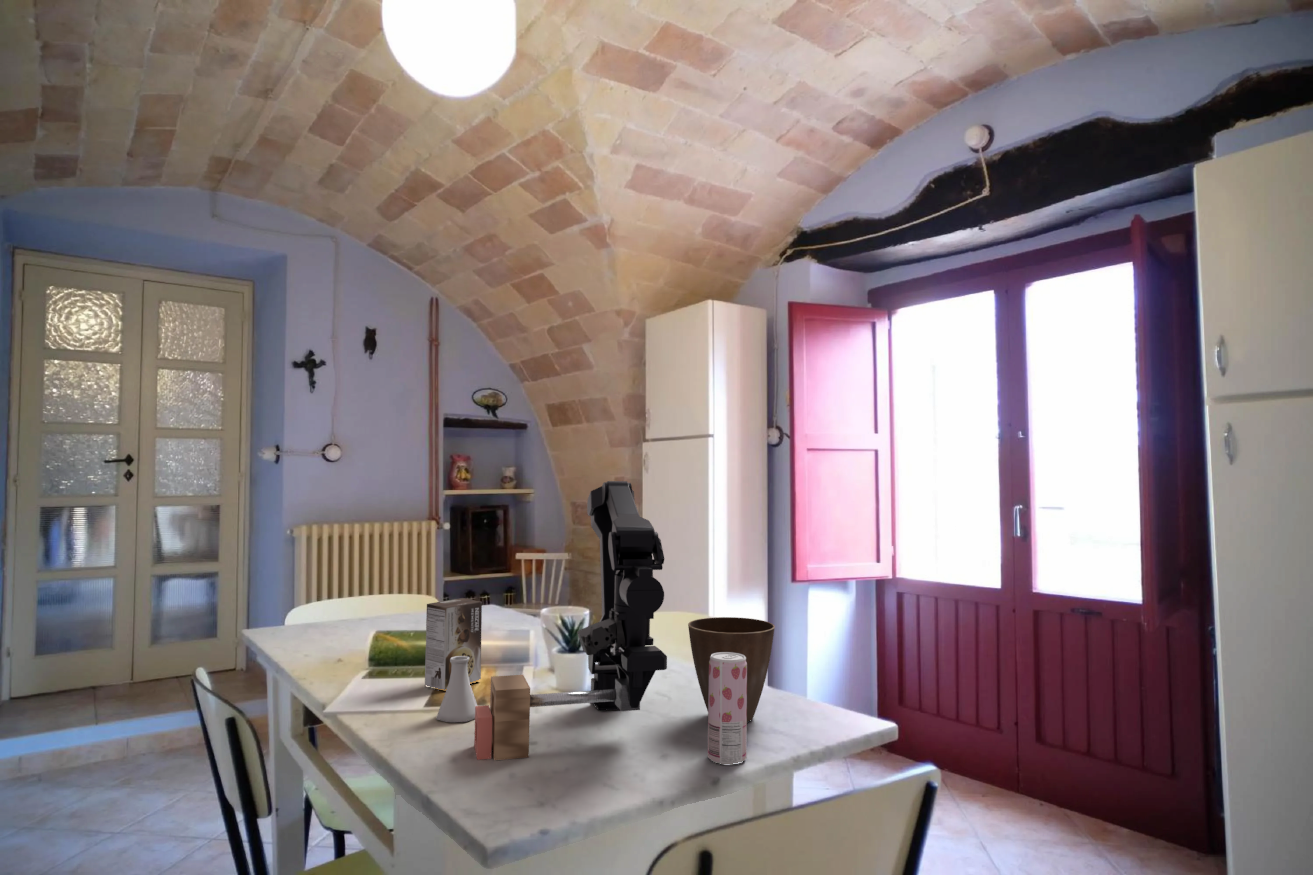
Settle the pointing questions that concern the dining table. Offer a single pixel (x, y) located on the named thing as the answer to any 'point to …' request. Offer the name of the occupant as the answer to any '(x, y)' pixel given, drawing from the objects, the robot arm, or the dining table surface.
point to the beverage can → (727, 708)
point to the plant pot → (737, 638)
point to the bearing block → (510, 717)
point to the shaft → (587, 697)
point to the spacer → (483, 732)
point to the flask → (458, 694)
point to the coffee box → (452, 639)
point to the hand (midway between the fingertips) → (630, 703)
